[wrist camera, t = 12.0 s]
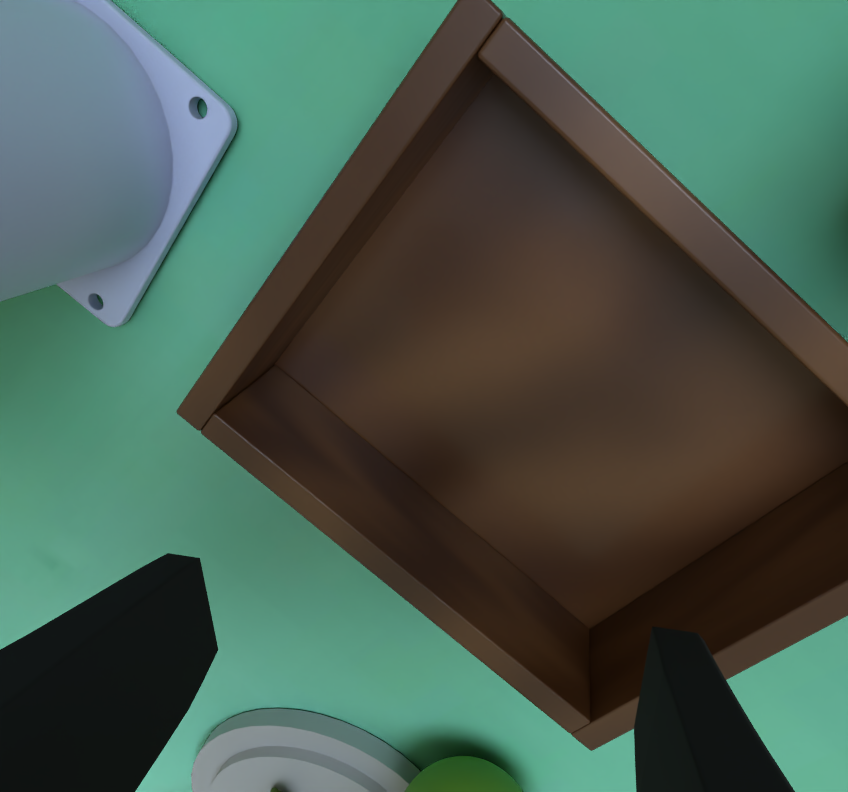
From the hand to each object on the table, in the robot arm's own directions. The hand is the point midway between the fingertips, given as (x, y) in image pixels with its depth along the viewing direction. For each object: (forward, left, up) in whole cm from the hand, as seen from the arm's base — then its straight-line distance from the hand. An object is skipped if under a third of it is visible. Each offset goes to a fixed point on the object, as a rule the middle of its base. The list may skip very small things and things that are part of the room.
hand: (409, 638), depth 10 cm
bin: (+1, +2, -9) cm, 10 cm away
